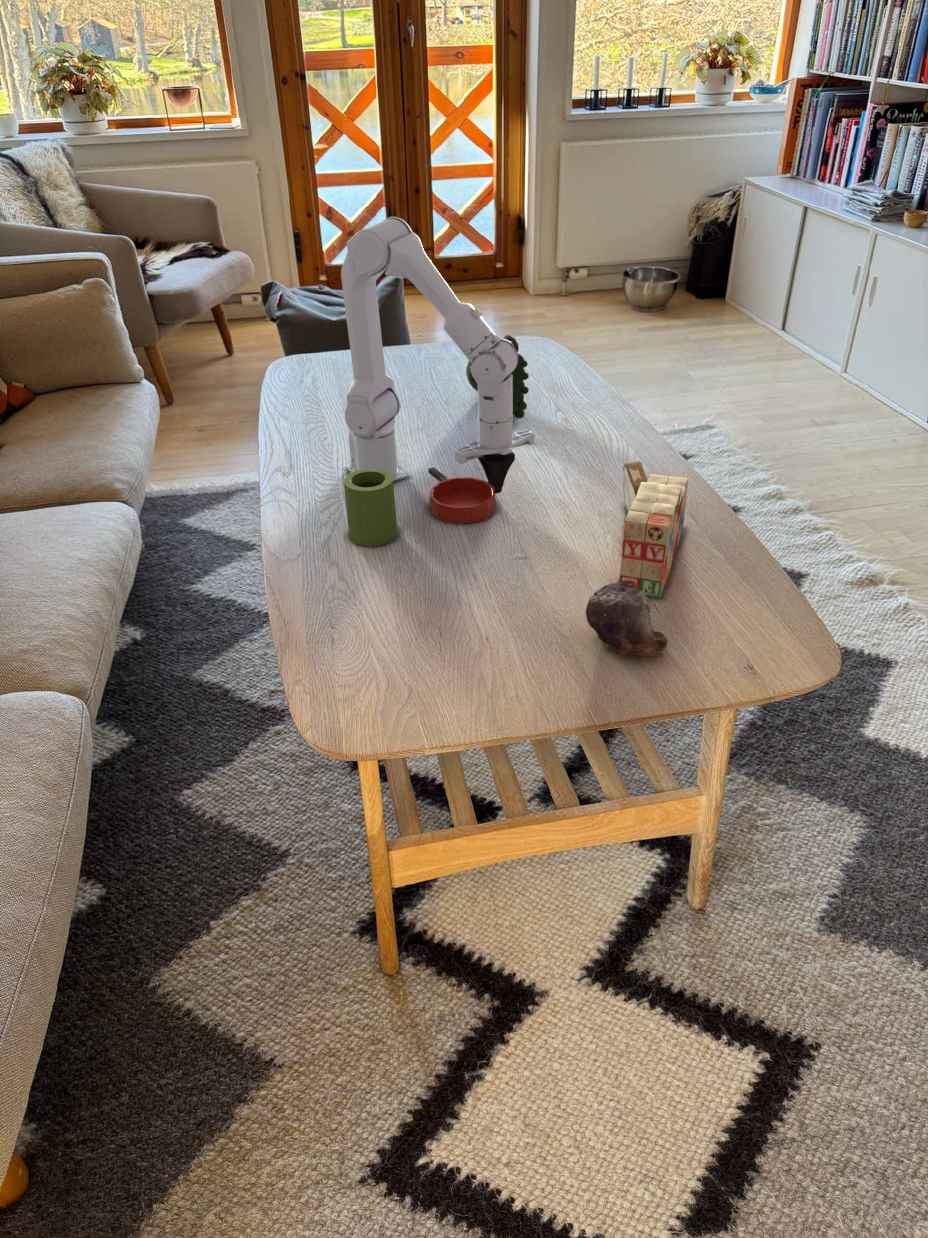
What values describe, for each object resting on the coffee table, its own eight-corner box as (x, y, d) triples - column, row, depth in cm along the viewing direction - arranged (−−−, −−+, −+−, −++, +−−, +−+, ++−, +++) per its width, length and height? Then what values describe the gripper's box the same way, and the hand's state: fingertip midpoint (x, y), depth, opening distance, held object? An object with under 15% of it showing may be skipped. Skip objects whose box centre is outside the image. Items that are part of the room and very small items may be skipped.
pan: (507, 512, 159) (507, 496, 158) (450, 529, 155) (449, 513, 153) (458, 474, 172) (457, 459, 170) (404, 489, 167) (403, 474, 165)
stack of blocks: (644, 523, 155) (651, 455, 148) (683, 529, 154) (692, 460, 146) (617, 592, 139) (624, 518, 132) (660, 599, 137) (669, 525, 130)
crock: (341, 530, 156) (335, 475, 150) (384, 518, 159) (379, 464, 153) (361, 551, 150) (356, 495, 144) (405, 538, 153) (401, 482, 148)
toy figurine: (538, 434, 189) (497, 380, 207) (543, 344, 176) (499, 295, 195) (493, 441, 186) (456, 386, 205) (496, 351, 174) (456, 301, 192)
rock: (636, 623, 134) (570, 635, 132) (638, 568, 131) (571, 579, 128) (676, 660, 124) (606, 673, 122) (679, 601, 121) (607, 614, 118)
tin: (653, 541, 150) (657, 493, 146) (633, 541, 150) (637, 494, 146) (637, 496, 163) (640, 452, 158) (619, 497, 163) (622, 452, 158)
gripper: (469, 435, 149) (471, 511, 157) (545, 415, 155) (543, 489, 163) (447, 420, 154) (450, 494, 162) (522, 401, 160) (521, 473, 168)
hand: (495, 490), depth 163 cm, fingers closed
